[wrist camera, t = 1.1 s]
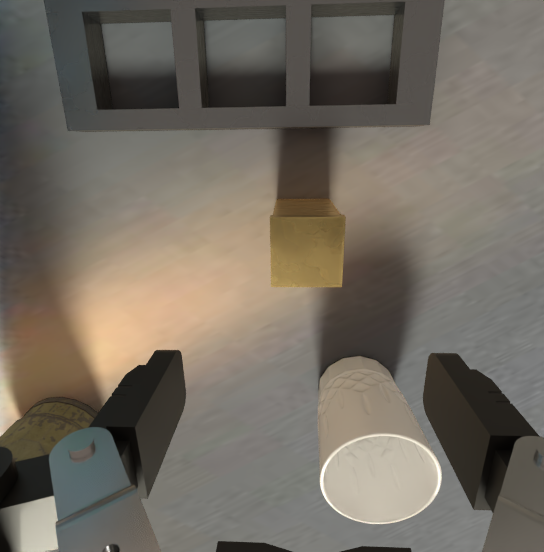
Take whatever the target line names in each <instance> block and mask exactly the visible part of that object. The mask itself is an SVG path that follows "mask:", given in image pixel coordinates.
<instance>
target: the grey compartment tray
mask: <svg viewBox="0 0 544 552" xmlns="http://www.w3.org/2000/svg"><path fill="white" fill-rule="evenodd" d="M44 4H45V10H46V15H47V20H48V26H49V31H50V37H51V42H52V48H53V53H54V58H55V64H56V69H57V75H58V80H59V85H60V91H61V96H62V102H63V107H64V113H65V118H66V123H67V129H68V131H82V132H101V131H163V130H225V129H287V128H349V127H411V126H424V125H430V117H431V109H432V101H433V92H434V84H435V76H436V67H437V59H438V50H439V42H440V34H441V25H442V17H443V9H444V0H44ZM370 15H395V16H394V28H393V40H392V52H391V64H390V76H389V88H388V100H387V104H381V105H328V106H309V102H310V49H311V17H337V16H370ZM271 18H286V106H275V107H223V108H209V98H208V82H207V66H206V51H205V35H204V21H205V20H238V19H271ZM139 22H172V34H173V45H174V56H175V67H176V78H177V90H178V101H179V108H170V109H117V110H113V106H112V99H111V93H110V86H109V79H108V72H107V65H106V58H105V51H104V44H103V37H102V30H101V24H106V23H139Z"/></svg>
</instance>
